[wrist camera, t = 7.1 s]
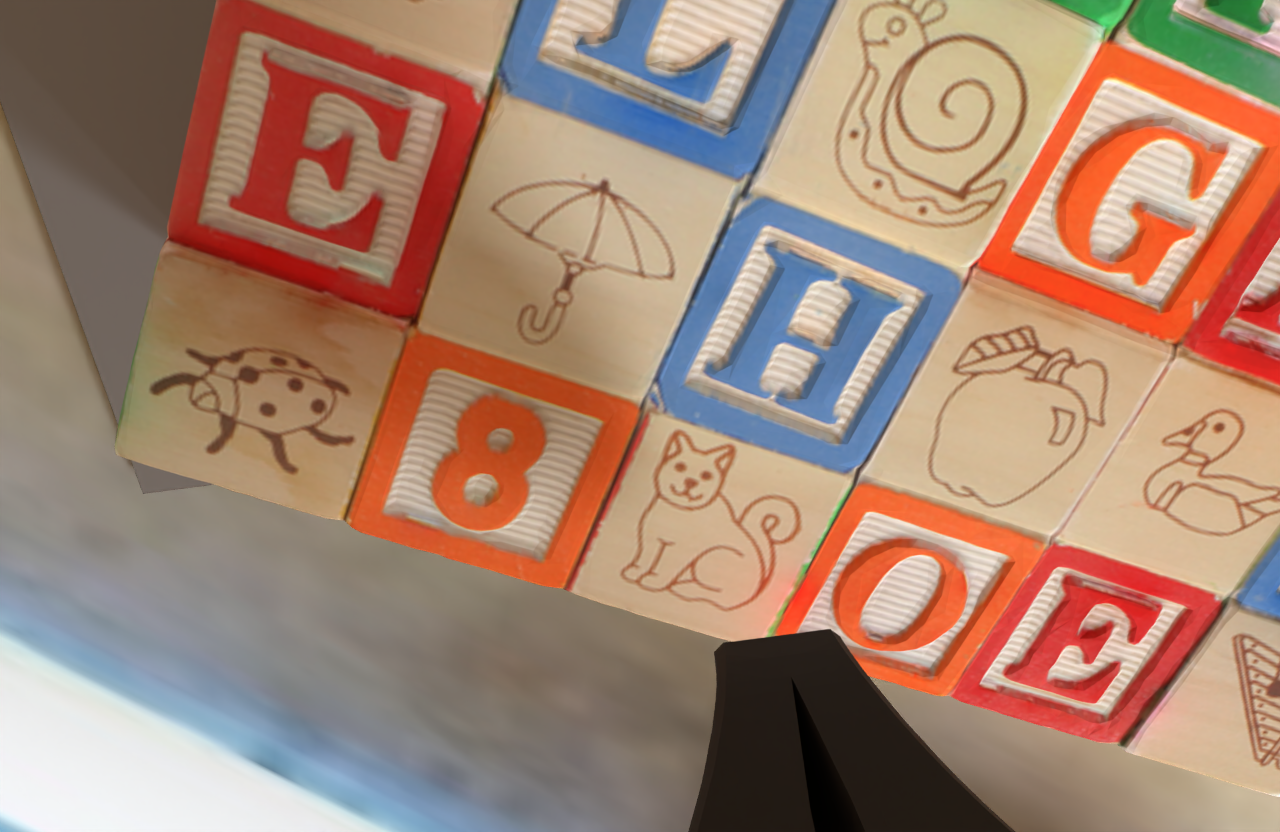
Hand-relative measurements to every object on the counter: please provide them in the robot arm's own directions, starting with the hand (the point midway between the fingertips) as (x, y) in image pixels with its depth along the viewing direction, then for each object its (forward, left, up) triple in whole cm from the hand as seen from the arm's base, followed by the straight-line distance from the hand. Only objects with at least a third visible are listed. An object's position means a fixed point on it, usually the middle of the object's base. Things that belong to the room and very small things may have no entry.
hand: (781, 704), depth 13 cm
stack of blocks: (-2, -1, -6) cm, 7 cm away
